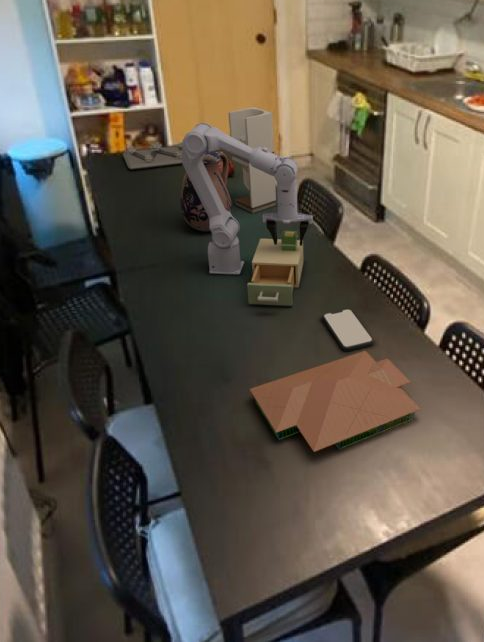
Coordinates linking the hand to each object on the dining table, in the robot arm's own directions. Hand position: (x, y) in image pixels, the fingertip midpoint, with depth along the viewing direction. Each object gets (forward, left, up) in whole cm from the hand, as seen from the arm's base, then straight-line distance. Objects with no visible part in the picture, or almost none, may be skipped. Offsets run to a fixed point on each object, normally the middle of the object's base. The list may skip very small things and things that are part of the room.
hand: (288, 243), depth 170 cm
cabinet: (-3, -1, -10) cm, 11 cm away
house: (+18, -59, -10) cm, 62 cm away
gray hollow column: (-19, +51, -10) cm, 56 cm away
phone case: (+19, -30, -10) cm, 37 cm away
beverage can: (-39, +79, -10) cm, 89 cm away
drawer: (-3, -15, -9) cm, 18 cm away
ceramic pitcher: (-32, +32, -10) cm, 46 cm away
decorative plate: (-71, +97, -10) cm, 121 cm away
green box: (0, +2, -2) cm, 3 cm away
